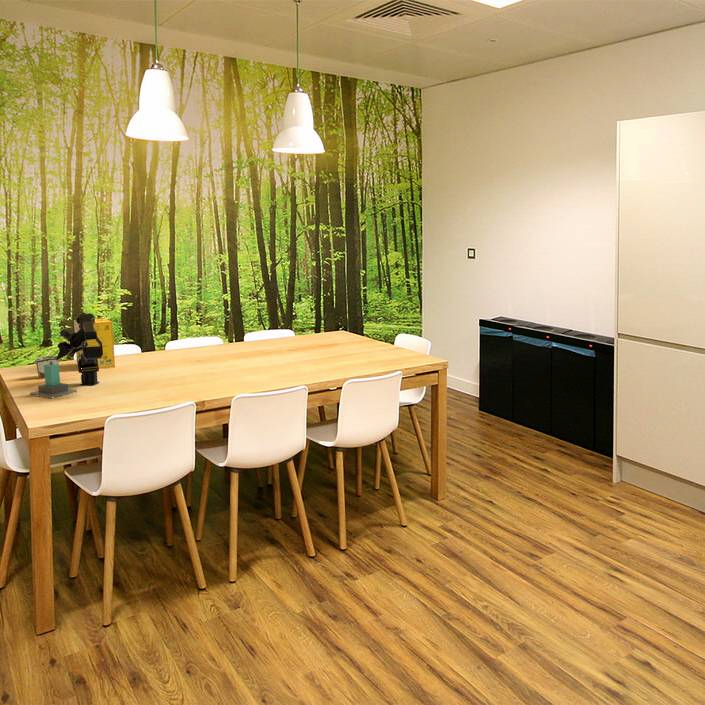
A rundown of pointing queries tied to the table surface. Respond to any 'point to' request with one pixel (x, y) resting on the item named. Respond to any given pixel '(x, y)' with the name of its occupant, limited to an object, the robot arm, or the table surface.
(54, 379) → the plug
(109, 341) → the packaging box
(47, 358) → the food container
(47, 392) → the socket
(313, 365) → the table surface
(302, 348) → the table surface
